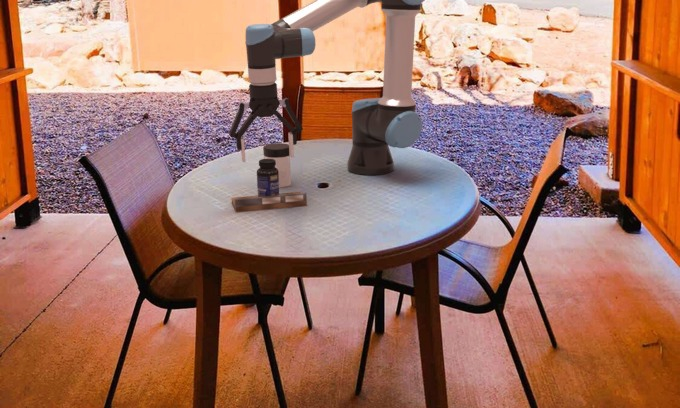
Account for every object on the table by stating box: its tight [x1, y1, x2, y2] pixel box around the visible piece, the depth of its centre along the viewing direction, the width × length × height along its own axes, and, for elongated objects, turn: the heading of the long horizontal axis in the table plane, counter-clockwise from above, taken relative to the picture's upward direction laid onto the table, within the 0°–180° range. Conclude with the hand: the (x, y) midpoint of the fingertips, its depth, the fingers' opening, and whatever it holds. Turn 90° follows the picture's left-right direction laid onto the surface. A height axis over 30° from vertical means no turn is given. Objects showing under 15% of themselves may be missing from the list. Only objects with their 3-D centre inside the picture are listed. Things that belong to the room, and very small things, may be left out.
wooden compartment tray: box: [231, 191, 308, 213], centre depth 221 cm, size 20×9×4 cm, turn 104°
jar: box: [262, 142, 292, 189], centre depth 239 cm, size 9×8×12 cm
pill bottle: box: [256, 158, 280, 197], centre depth 220 cm, size 6×6×11 cm
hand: (267, 158), depth 219 cm, fingers open, 13 cm apart
